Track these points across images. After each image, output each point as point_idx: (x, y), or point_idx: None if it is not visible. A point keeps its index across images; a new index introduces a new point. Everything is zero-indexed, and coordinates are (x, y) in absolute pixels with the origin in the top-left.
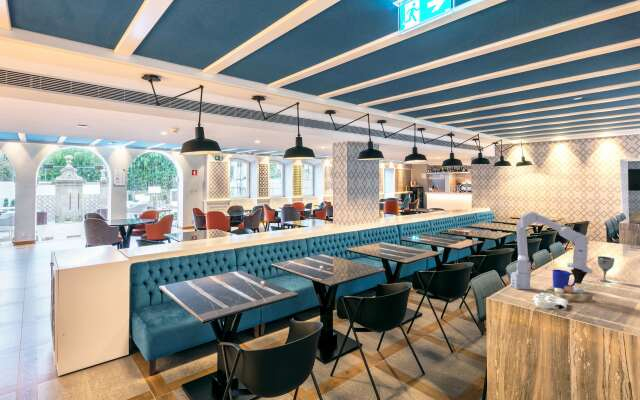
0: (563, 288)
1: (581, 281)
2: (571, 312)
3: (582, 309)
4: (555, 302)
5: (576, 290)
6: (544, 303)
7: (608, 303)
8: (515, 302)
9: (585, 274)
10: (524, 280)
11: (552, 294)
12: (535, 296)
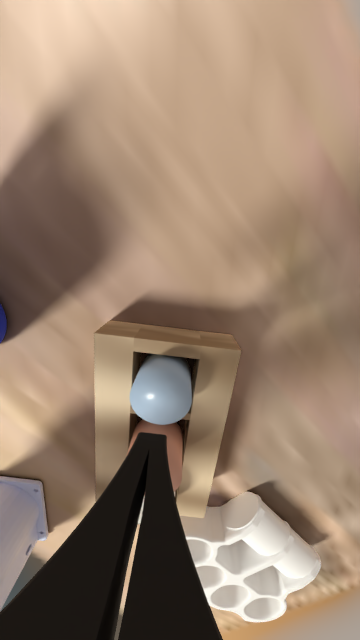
0: (4, 329)
1: (166, 461)
2: (330, 534)
3: (317, 475)
4: (292, 590)
5: (171, 418)
6: (278, 608)
7: (277, 252)
8: None
9: (212, 627)
10: (4, 576)
11: None
12: (211, 604)
